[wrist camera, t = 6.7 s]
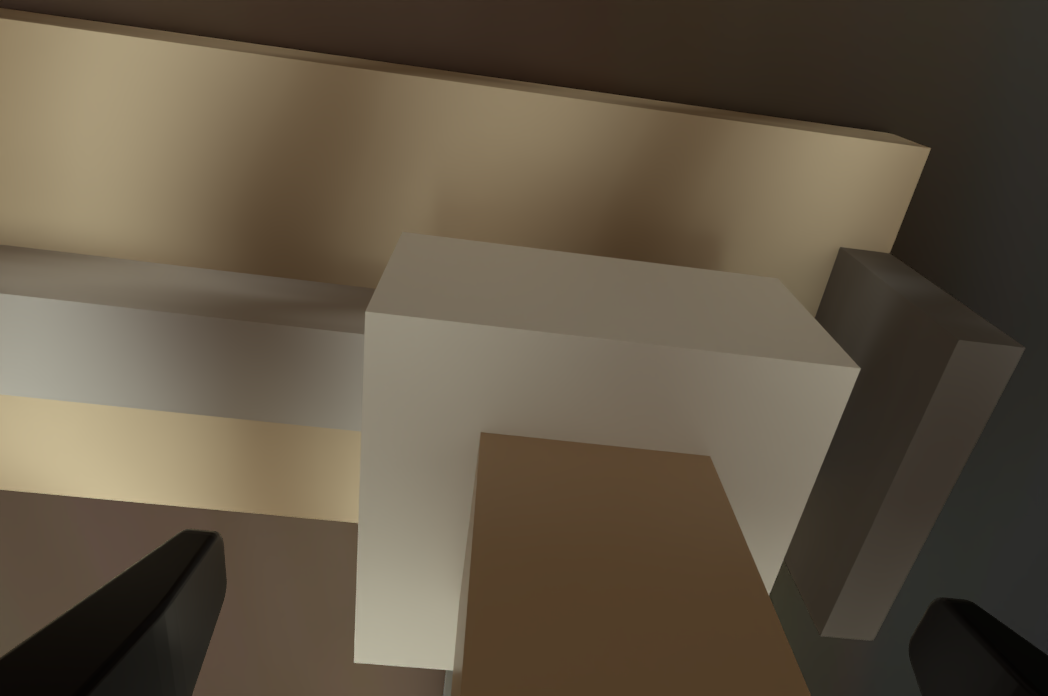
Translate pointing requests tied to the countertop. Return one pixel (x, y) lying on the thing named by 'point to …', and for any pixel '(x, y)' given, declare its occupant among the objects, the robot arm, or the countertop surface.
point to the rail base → (368, 242)
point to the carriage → (585, 470)
